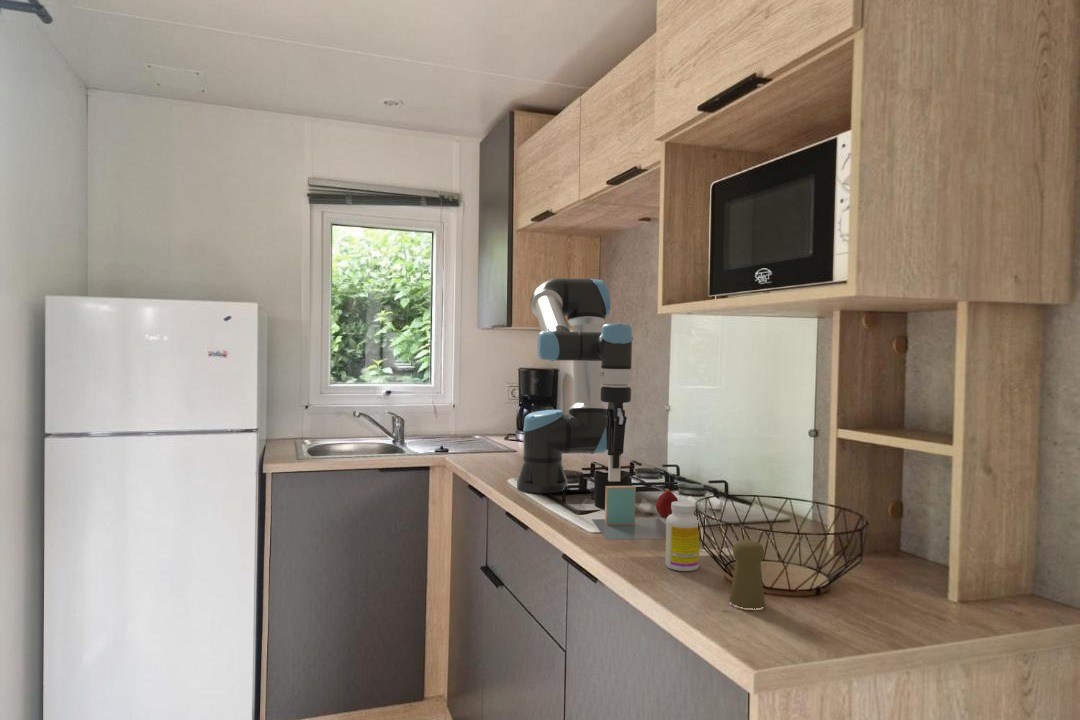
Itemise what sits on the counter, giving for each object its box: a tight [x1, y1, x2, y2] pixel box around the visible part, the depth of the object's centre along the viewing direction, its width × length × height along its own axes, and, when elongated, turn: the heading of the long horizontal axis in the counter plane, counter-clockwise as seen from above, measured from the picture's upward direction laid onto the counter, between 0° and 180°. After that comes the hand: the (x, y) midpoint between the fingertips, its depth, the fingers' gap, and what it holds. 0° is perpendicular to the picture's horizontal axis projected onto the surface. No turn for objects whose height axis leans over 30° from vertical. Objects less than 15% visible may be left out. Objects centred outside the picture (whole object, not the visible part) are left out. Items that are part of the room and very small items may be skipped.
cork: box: [729, 539, 766, 609], centre depth 121 cm, size 6×6×11 cm
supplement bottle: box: [664, 500, 701, 572], centre depth 140 cm, size 7×7×13 cm
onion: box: [655, 488, 679, 518], centre depth 176 cm, size 6×6×8 cm
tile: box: [604, 485, 637, 525], centre depth 167 cm, size 2×7×9 cm, turn 97°
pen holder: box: [593, 469, 631, 510], centre depth 186 cm, size 9×9×10 cm
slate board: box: [591, 517, 666, 541], centre depth 164 cm, size 17×17×1 cm
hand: (614, 480), depth 174 cm, fingers closed
